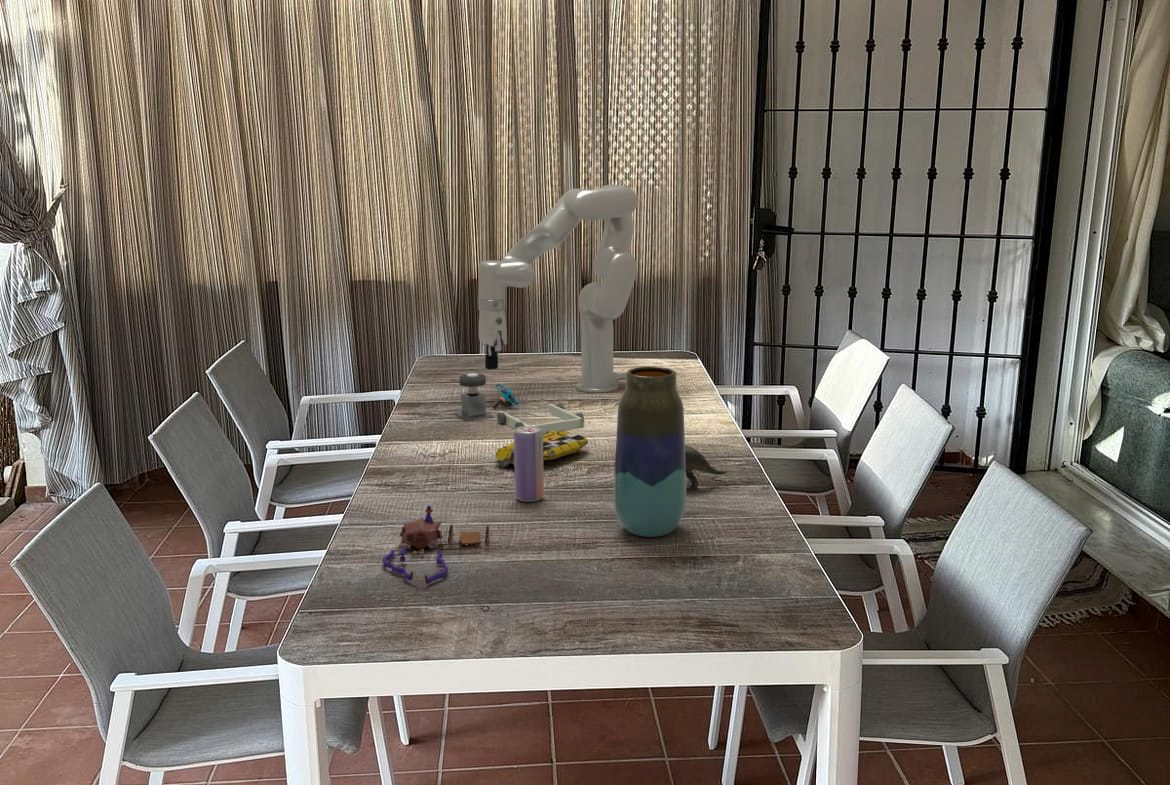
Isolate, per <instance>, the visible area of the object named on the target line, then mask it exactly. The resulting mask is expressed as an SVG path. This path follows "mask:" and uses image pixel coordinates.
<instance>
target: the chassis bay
mask: <svg viewBox="0 0 1170 785" xmlns="http://www.w3.org/2000/svg"><path fill="white" fill-rule="evenodd" d="M547 406H548V408H547V409H548V411H547V412H548V413H549V414H551V415H552V416H555V417H557V418H560V419H562V420H558V421H550V422H546V423H545V422H544V423H537V424H533V425H532V424H531V425H530V424H528V423H526V422H524V421H522V420H520V419H518V418H516V417H514V416H512V415H510V414H509V413H507V412H505V411H503V410H499V411H497V415H496V418H497V423H498V424H499V425H503V424H504V425H506V426H509V427H510V428H512V429H514V430H515V429H516V428H517V427H520V426H538V427H540V428H541V429H542V432H543V433H547V432H548V431H563V430H564V431H567V430H573V429H574V430H575V429H580V428H584V422H585V418H584V415H583V413H581V412H578V413H575V414H574V413H572V412H570V411H568V410H565V406H564V404H562V403H560V404H556V405H555V404H553V403H548V405H547Z"/></svg>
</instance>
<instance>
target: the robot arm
mask: <svg viewBox="0 0 1170 785" xmlns="http://www.w3.org/2000/svg"><path fill="white" fill-rule="evenodd" d="M637 207H638V197H637V194H636V192H635V190H633V189H632V188H631V187H628V186H625V185H616V184H606V185H602V186H600V188H597V189H596V188H595V189H586V188H583V189H582V188H571V189H569V190H567V191H566V192H565V193H563V195H561V197H560V198H559V199H558V200H557V202H556V203H555V204H554V205H553V206H552V208H551V209H550V210H549V211H548V213H546V215H545V216H544V217H543V219H541V221H540V222H539V223H538V224H537V225H536V226H535V227H534V228H532V229H531V230H530V231H529V232H527V233H526V234H525V235H524V236H523V237H522V238H520V239H519V240H518V241H517V242H516V243H515V244H514V245H513V246H512V247H511V248H510V249H509V251H508V252H507V253H506V254H505V255H504V257H503V258H502V259H501V260H483V261H480V262H479V264H478V275H477V276H478V278H477V279H478V283H477V285H478V290H477V291H478V292H477V293H478V297H477V298H478V299H477V300H478V311H479V317H478V340H479V342H481V344H482V346H483V348H484V356H485V358H484V359H485V362H484V363H485V364H484V366H485V369H487V370H497V369H498V368H499V353H500V352H501V351H502V346H507V344H508V331H507V317H506V287H513V288H526V287H528V286H530V285H531V284H532V283H533V282H534V280H535V278H536V273H535V269H534V268H533V266H532V265H531V264H532V263H533V262H534V261H535V260H536V259H538V258H539V257H540V256H541V255H542V254H544V253H546V252H549V251H552V250H554V249H556V248H558V247H559V246H561V245H562V244H563V243H564V241H565V240H566V239H567V238H568V237H569V236H570V235H571V233H572V231H574V229H575V228H576V227H577V226H578V225H579V223H581V221H598V220H599V221H600V220H603V221H604V222H603V223H604V224H603V225H604V229H603V233H602V235H601V236H602V237H601V239H600V243H599V246H598V249H597V252H596V254H595V257H594V261H593V271H594V273H595V275H596V276H598V277H599V278H601V279H602V281H601V282H590V283H588V284H586V285H585V286H584V287H582V288H581V291H580V293H579V295H578V309H579V314H580V315H579V316H580V317H579V318H580V325H581V326H580V327H581V328H580V330H581V335H580V336H581V337H580V338H581V341H580V342H581V344H580V345H581V346H580V347H581V348H580V349H581V352H580V353H581V355H580V357H581V358H580V359H581V381H580V382H577V383H576V385H575V386H576V389H577V390H579V391H581V392H584V393H595V394H596V393H597V394H598V393H610V392H613V391H617V390H618V389H619V383H618V382H619V381H620V380H621V381H623V380H625V381H626V372H624V373H619V372H616V371H614V323H613V320H616V319H617V318H619V317H621V315H622V314H623V312H624V311H625V308H626V306H627V305H628V302H629V298H630V295H631V293H632V290H633V286H634V283H635V281H636V277H637V272H638V265H637V261H636V258H635V256H634V255H633V254H631V253H630V252H629V250H630V246H631V242H632V240H633V234H634V221H633V217H632V214H633V213H635V212H634V211H635V210H636V208H637Z"/></svg>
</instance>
